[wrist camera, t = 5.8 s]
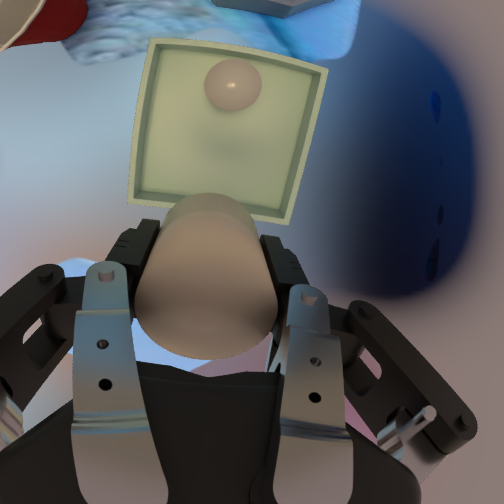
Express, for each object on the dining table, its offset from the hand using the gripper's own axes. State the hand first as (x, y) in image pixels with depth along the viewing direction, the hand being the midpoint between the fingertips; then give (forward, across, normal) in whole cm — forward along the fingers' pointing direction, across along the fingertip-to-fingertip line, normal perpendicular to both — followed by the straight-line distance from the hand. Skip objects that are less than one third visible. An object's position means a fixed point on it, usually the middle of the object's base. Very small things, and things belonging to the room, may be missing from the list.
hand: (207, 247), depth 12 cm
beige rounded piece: (+17, 0, -8) cm, 18 cm away
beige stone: (+1, 0, 0) cm, 1 cm away
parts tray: (+17, 0, -4) cm, 18 cm away
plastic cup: (+17, +20, -16) cm, 31 cm away
